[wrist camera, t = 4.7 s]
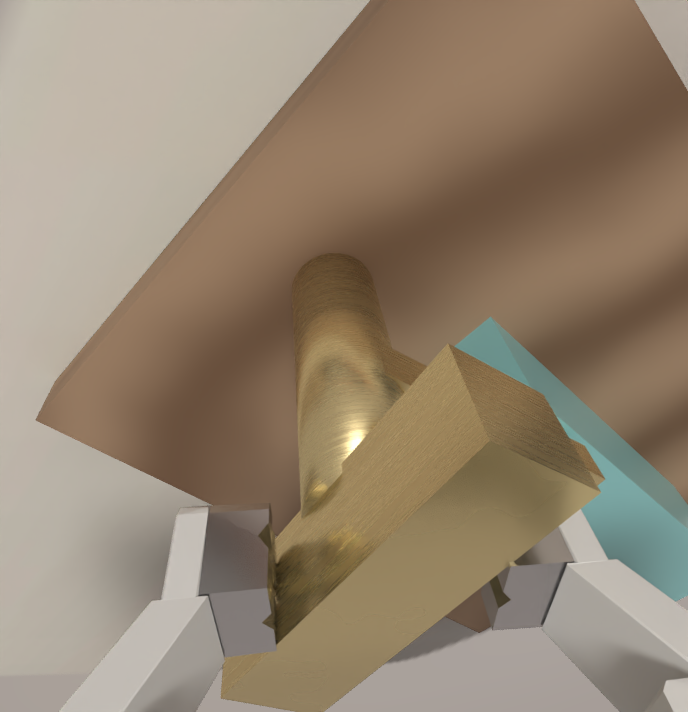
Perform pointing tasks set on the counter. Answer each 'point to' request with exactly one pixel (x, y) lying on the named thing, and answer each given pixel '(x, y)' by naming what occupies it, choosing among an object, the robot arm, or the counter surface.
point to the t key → (396, 492)
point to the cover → (605, 472)
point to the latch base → (419, 242)
